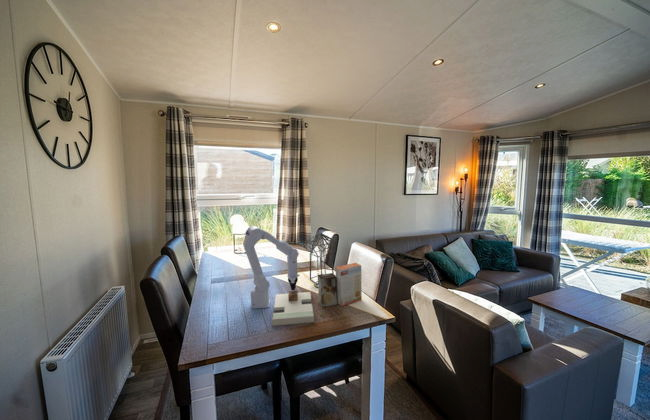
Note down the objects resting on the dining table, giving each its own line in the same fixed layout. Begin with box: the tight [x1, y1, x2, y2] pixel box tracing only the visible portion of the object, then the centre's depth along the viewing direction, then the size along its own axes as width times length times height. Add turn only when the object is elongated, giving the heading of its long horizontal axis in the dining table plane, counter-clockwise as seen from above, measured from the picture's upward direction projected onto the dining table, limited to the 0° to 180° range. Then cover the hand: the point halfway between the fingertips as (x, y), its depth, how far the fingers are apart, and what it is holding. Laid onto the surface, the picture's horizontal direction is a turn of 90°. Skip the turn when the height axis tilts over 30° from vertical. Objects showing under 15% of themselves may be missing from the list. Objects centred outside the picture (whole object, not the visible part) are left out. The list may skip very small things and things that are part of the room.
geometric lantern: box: [304, 232, 337, 288], centre depth 156 cm, size 16×16×35 cm
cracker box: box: [335, 262, 363, 307], centre depth 136 cm, size 14×6×21 cm, turn 120°
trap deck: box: [271, 291, 315, 327], centre depth 131 cm, size 20×28×3 cm
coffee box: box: [317, 272, 338, 308], centre depth 135 cm, size 9×6×16 cm
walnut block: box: [288, 290, 299, 301], centre depth 137 cm, size 5×5×4 cm
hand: (293, 289), depth 145 cm, fingers closed
